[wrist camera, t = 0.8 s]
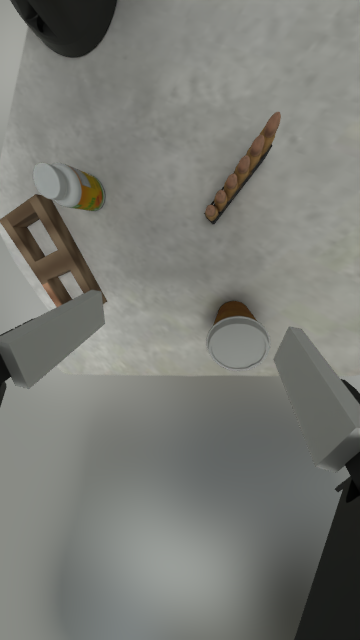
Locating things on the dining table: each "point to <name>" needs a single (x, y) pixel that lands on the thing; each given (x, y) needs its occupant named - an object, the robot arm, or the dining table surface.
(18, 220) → the rack
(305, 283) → the dining table surface
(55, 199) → the supplement bottle
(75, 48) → the robot arm
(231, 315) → the disposable coffee cup
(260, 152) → the ammunition clip
